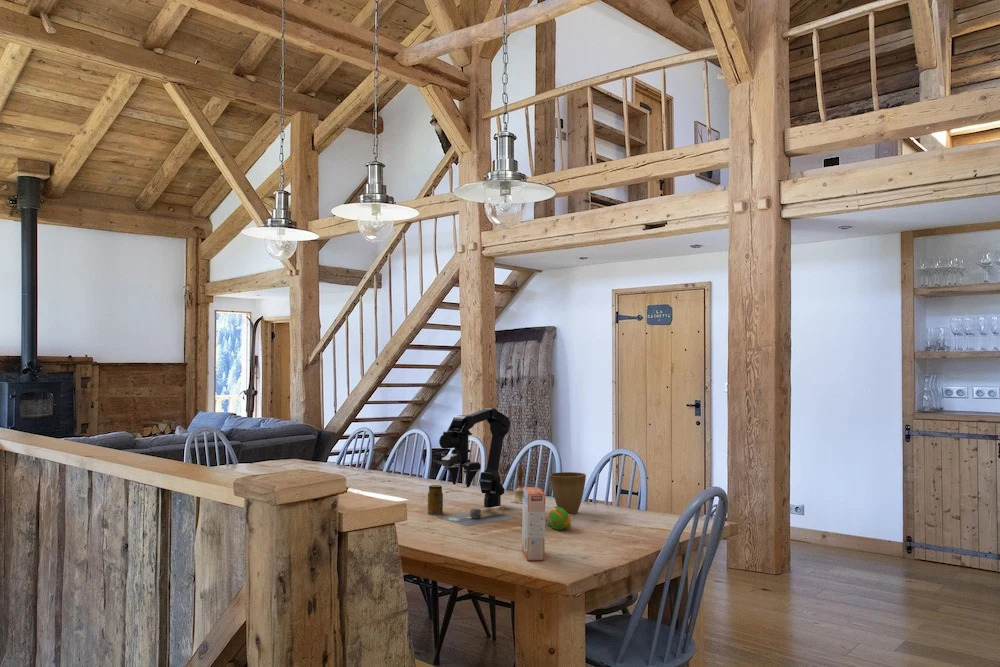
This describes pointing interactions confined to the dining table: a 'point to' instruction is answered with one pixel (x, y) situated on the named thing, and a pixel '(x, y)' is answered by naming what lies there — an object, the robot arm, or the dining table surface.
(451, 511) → the dining table surface
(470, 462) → the robot arm
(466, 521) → the grey board
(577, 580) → the dining table surface
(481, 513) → the dial lever
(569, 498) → the plant pot
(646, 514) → the dining table surface
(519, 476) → the hand bell
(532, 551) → the cracker box
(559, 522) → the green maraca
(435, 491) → the condiment
